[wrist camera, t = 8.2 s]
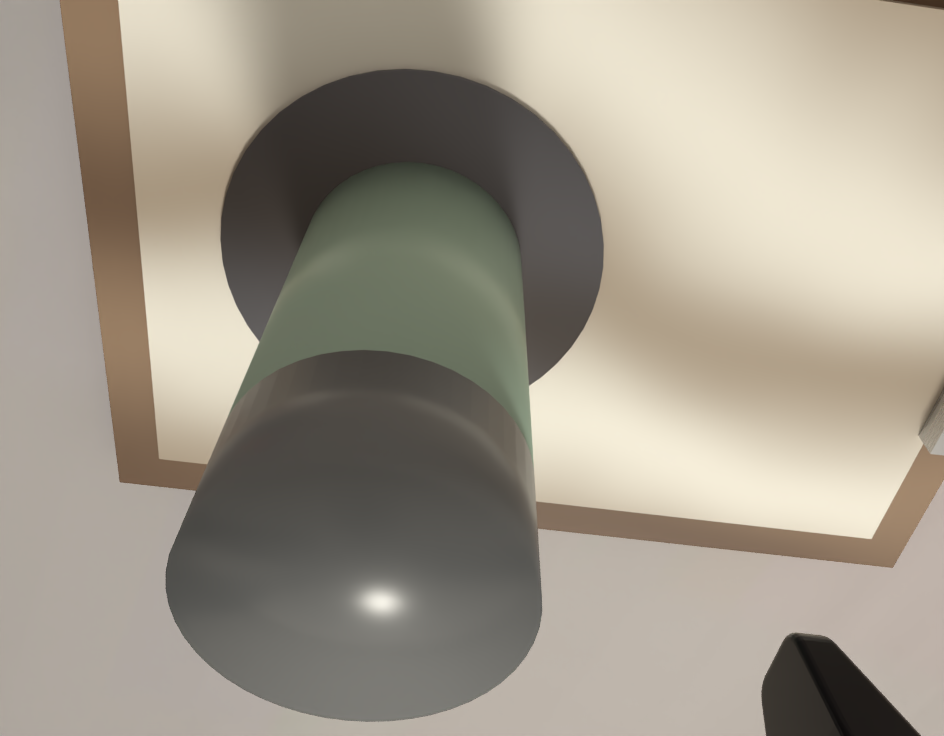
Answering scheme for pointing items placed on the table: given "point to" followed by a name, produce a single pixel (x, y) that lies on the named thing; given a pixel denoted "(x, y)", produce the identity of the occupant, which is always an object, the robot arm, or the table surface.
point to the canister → (375, 466)
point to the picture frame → (560, 234)
